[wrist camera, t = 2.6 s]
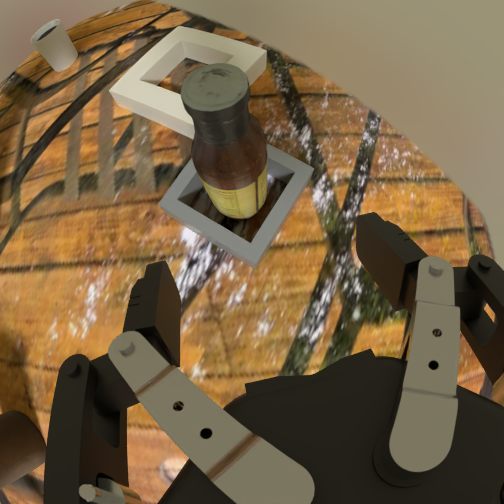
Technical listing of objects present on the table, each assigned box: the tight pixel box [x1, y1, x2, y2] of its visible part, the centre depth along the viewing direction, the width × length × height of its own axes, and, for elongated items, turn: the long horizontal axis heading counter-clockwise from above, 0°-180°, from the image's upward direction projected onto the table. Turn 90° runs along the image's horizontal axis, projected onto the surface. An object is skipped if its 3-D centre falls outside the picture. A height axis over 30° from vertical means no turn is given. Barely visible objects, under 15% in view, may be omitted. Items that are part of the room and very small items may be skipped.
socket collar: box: [109, 26, 267, 139], centre depth 36 cm, size 16×16×4 cm
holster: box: [158, 143, 314, 269], centre depth 32 cm, size 12×12×4 cm
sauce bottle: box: [180, 63, 268, 220], centre depth 25 cm, size 7×6×20 cm
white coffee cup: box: [31, 19, 78, 72], centre depth 36 cm, size 7×7×10 cm
